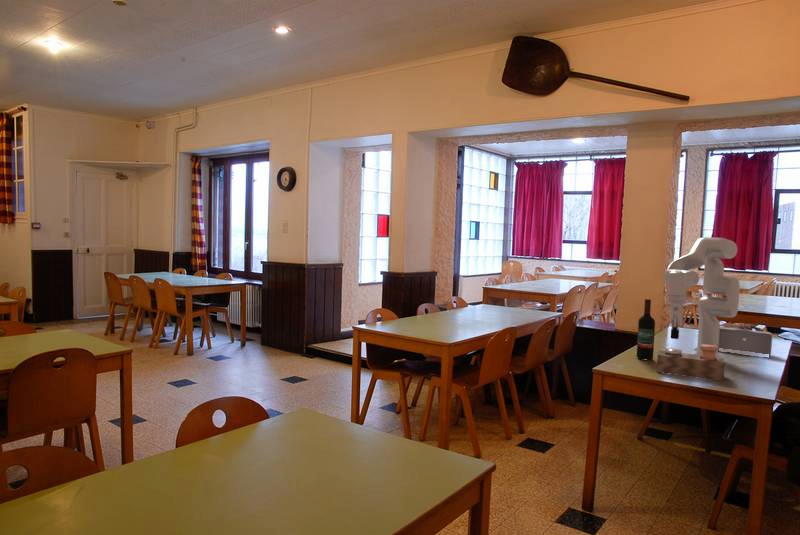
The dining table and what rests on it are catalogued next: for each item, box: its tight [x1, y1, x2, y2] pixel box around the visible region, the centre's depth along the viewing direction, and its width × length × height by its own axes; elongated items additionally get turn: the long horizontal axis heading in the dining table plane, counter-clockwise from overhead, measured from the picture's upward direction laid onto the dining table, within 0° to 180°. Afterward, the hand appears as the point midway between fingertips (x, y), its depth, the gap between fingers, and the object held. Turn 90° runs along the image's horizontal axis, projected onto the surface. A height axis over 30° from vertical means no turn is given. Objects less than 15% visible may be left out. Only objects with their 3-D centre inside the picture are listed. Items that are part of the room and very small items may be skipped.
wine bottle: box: [636, 298, 656, 361], centre depth 267 cm, size 8×8×30 cm
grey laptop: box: [719, 326, 773, 359], centre depth 288 cm, size 25×16×12 cm, turn 53°
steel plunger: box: [664, 347, 683, 356], centre depth 244 cm, size 7×7×9 cm
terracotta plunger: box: [700, 344, 718, 361], centre depth 237 cm, size 7×7×9 cm
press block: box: [656, 349, 726, 382], centre depth 241 cm, size 26×11×8 cm, turn 61°
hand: (674, 338), depth 244 cm, fingers closed
